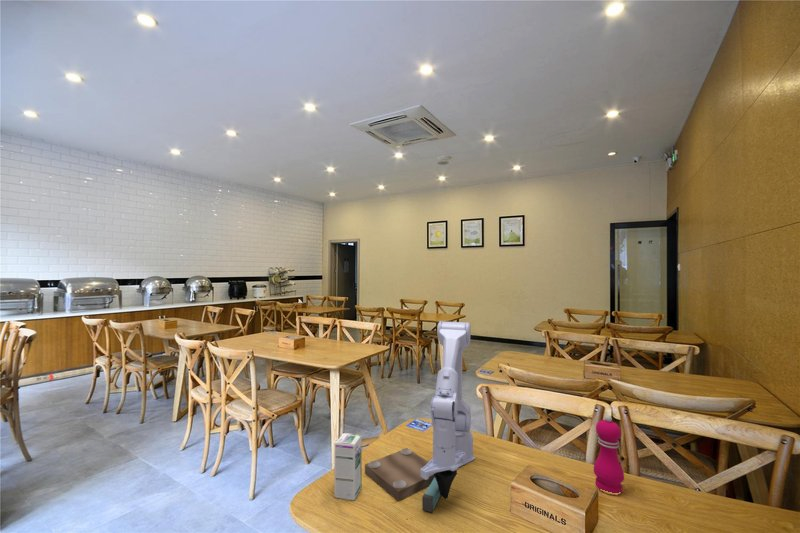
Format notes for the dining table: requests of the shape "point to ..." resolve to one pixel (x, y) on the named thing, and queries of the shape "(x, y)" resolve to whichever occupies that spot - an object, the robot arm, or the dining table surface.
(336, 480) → the syrup box
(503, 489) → the dining table surface
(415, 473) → the stool seat
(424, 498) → the stool leg
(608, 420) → the pepper mill
